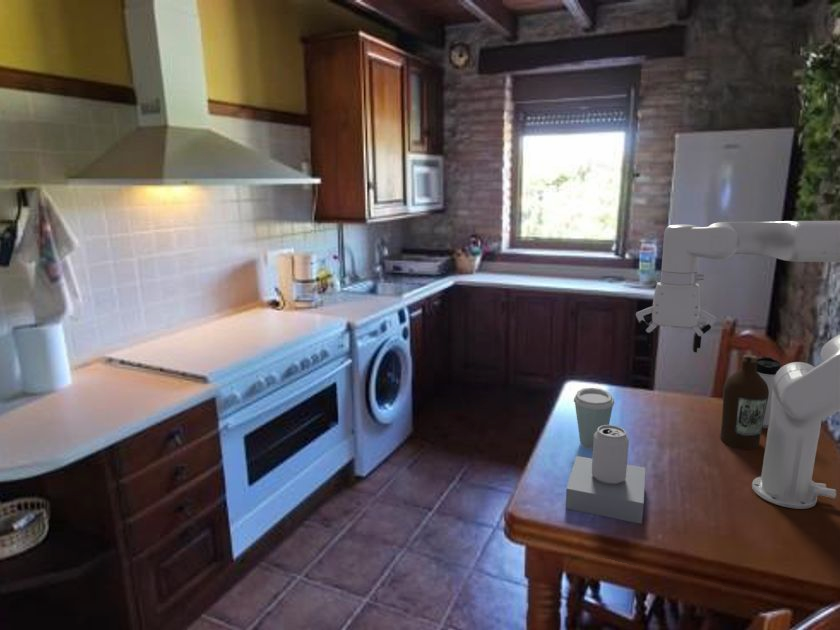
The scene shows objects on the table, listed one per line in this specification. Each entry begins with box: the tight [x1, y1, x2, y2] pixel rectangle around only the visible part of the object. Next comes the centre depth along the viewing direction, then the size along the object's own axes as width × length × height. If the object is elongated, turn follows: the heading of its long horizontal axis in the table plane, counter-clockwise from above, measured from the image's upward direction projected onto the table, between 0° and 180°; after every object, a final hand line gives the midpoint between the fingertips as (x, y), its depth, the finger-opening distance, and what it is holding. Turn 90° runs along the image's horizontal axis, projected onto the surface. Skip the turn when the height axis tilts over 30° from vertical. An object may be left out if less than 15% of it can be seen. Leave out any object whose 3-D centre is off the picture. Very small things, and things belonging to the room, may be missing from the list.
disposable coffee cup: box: [573, 387, 615, 450], centre depth 152 cm, size 11×11×15 cm
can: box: [591, 424, 630, 485], centre depth 126 cm, size 8×8×12 cm
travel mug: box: [756, 356, 781, 429], centre depth 162 cm, size 6×7×20 cm
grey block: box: [565, 455, 646, 525], centre depth 128 cm, size 16×16×5 cm
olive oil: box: [719, 354, 769, 450], centre depth 151 cm, size 11×11×25 cm
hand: (672, 349), depth 132 cm, fingers open, 9 cm apart
